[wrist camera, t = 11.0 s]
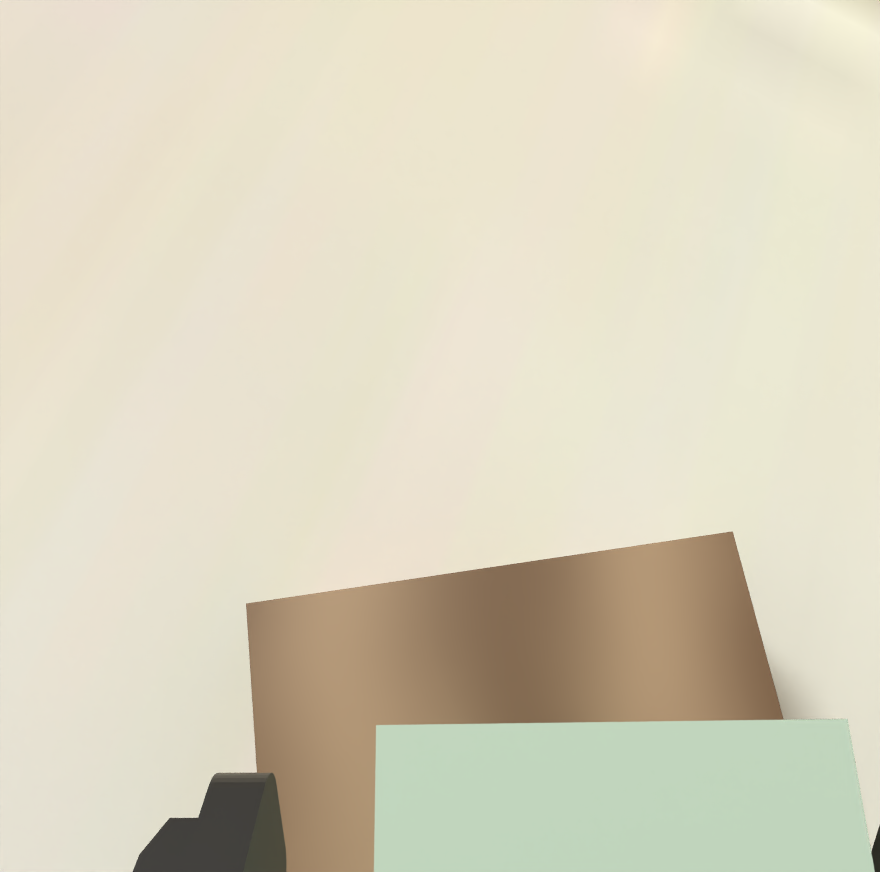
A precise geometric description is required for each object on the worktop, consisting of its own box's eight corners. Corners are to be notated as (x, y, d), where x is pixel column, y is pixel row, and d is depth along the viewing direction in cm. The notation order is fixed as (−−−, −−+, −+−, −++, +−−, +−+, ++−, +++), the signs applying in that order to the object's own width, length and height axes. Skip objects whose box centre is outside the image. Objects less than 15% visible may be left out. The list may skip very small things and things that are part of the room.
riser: (328, 1102, 19) (286, 1228, 14) (289, 628, 23) (246, 603, 18) (786, 1025, 19) (892, 1123, 15) (676, 570, 23) (732, 531, 18)
